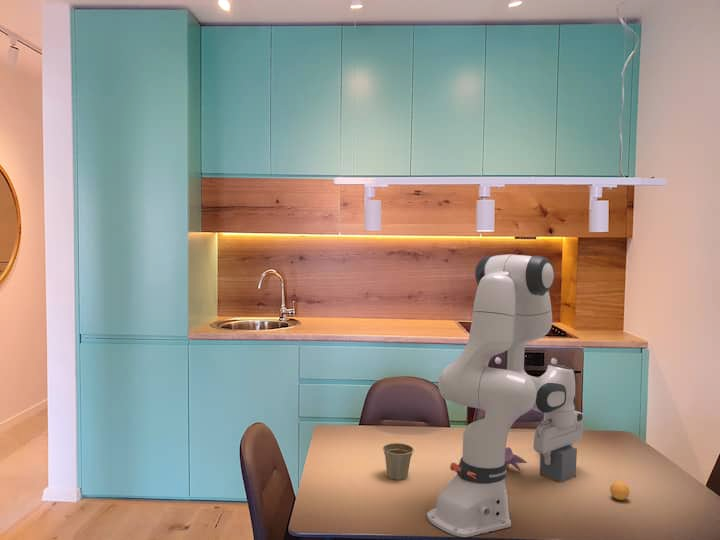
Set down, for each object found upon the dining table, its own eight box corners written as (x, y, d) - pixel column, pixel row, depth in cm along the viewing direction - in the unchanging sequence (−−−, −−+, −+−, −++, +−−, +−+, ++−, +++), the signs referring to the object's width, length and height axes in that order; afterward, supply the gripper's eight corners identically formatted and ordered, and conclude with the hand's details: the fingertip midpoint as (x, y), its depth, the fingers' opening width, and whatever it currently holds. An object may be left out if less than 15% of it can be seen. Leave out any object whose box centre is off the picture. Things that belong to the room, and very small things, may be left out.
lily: (527, 484, 181) (535, 452, 184) (493, 470, 180) (502, 438, 183) (508, 480, 192) (516, 451, 195) (476, 467, 191) (484, 438, 194)
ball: (622, 504, 166) (623, 487, 166) (606, 498, 170) (606, 480, 170) (632, 500, 169) (633, 482, 169) (615, 493, 173) (616, 476, 173)
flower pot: (419, 476, 182) (420, 448, 182) (399, 485, 176) (400, 456, 175) (395, 467, 189) (396, 440, 188) (375, 476, 182) (376, 448, 181)
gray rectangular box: (561, 482, 180) (562, 453, 179) (539, 474, 186) (540, 446, 185) (575, 476, 185) (576, 448, 184) (554, 468, 191) (555, 441, 190)
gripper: (546, 426, 175) (545, 472, 176) (587, 413, 188) (585, 456, 189) (529, 420, 180) (527, 465, 181) (569, 408, 193) (568, 450, 194)
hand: (557, 460), depth 185 cm, fingers open, 8 cm apart
